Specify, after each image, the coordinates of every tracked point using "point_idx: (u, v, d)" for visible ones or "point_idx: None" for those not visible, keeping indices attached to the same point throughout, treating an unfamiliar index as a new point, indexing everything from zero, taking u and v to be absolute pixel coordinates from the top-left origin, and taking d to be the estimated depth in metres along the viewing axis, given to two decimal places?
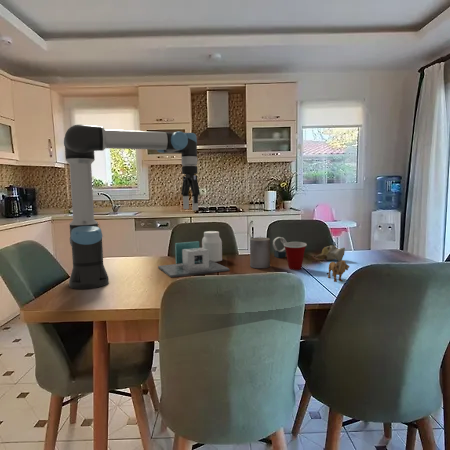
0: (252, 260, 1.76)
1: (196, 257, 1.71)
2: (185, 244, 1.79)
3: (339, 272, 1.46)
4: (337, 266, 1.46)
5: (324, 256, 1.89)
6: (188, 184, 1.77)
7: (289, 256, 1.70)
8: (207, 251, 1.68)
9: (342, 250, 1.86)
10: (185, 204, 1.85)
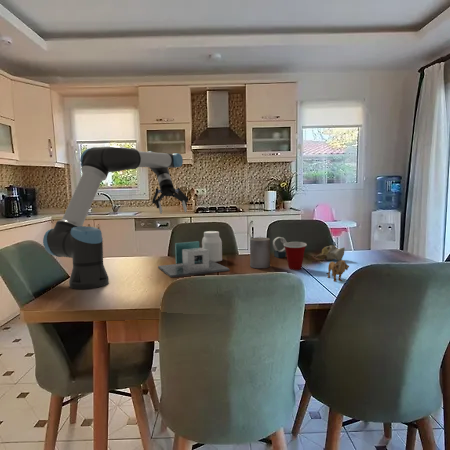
0: (252, 260, 1.76)
1: (196, 257, 1.71)
2: (185, 244, 1.79)
3: (339, 272, 1.46)
4: (337, 266, 1.46)
5: (324, 256, 1.89)
6: (170, 193, 2.02)
7: (289, 256, 1.70)
8: (207, 251, 1.68)
9: (342, 250, 1.86)
10: None
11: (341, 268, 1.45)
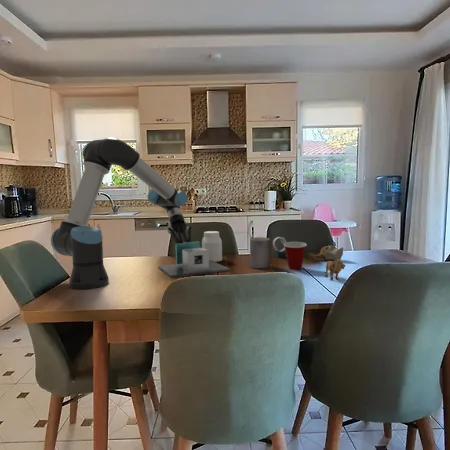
0: (252, 260, 1.76)
1: (196, 257, 1.70)
2: (185, 244, 1.78)
3: (335, 271, 1.48)
4: (333, 265, 1.48)
5: (322, 256, 1.89)
6: (181, 230, 1.90)
7: (289, 256, 1.70)
8: (207, 251, 1.68)
9: (340, 250, 1.86)
10: None
11: (337, 267, 1.46)
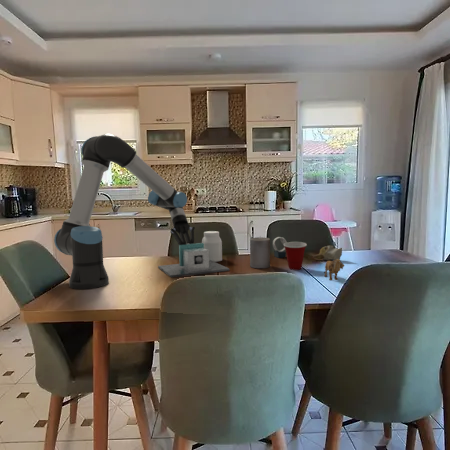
0: (252, 260, 1.76)
1: (201, 259, 1.65)
2: (189, 246, 1.73)
3: (334, 271, 1.48)
4: (332, 265, 1.48)
5: (321, 256, 1.89)
6: (184, 230, 1.85)
7: (289, 256, 1.70)
8: (207, 251, 1.68)
9: (339, 250, 1.85)
10: None
11: (336, 267, 1.47)
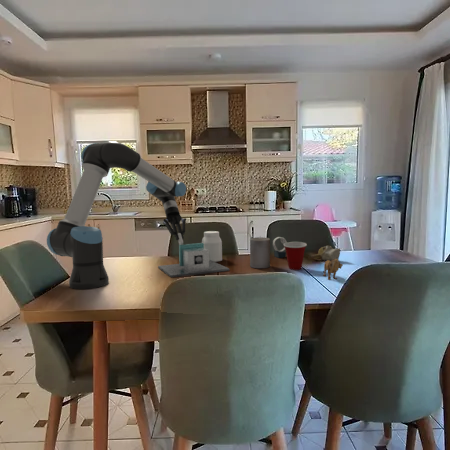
0: (252, 260, 1.76)
1: (201, 259, 1.65)
2: (189, 246, 1.74)
3: (332, 270, 1.49)
4: (330, 264, 1.49)
5: (319, 256, 1.89)
6: (176, 221, 1.96)
7: (289, 256, 1.70)
8: (207, 251, 1.68)
9: (337, 251, 1.84)
10: None
11: (334, 266, 1.48)
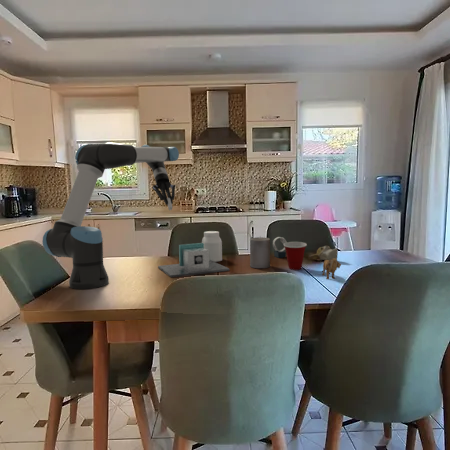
0: (252, 260, 1.76)
1: (201, 259, 1.65)
2: (189, 246, 1.74)
3: (331, 270, 1.50)
4: (329, 264, 1.50)
5: (316, 256, 1.89)
6: (166, 187, 2.00)
7: (289, 256, 1.70)
8: (207, 251, 1.68)
9: (334, 251, 1.84)
10: None
11: (333, 266, 1.49)
